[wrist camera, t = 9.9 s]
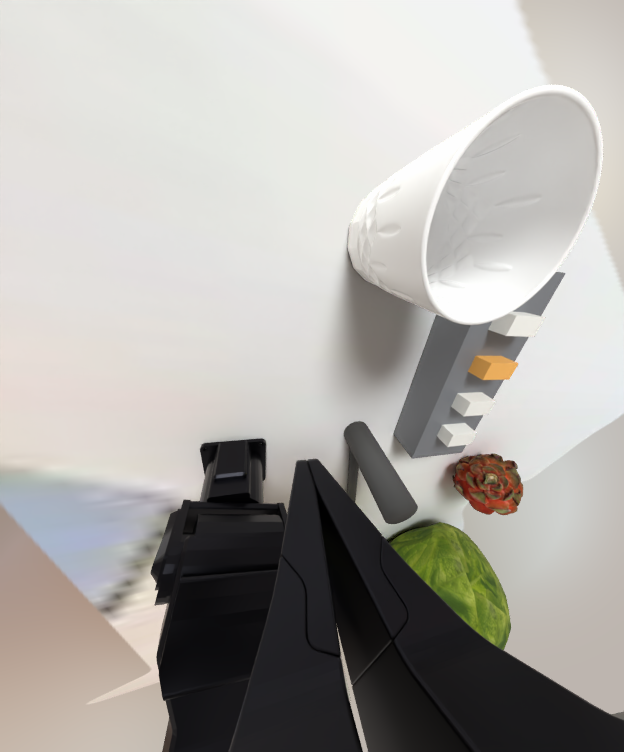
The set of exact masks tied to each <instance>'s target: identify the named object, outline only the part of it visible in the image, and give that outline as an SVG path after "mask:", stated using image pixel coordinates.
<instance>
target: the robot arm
mask: <svg viewBox="0 0 624 752" xmlns="http://www.w3.org/2000/svg"><path fill="white" fill-rule="evenodd" d="M259 443H262V444H259ZM206 448H207V449H206ZM200 452H201V457H202V463H203V468H204V474H205V479H204V484H203V488H202V493H201V498H200V501H191V500H184V501H183V504H182V508H181V509H178V511H176V512H174V513H171V514H170V517H169V521H168V524H167V527H166V530H165V533H164V536H163V539H162V542H161V544H160V547H159V550H158V552H157V555H156V558H155V560H154V563H153V566H152V570H151V575H152V576H153V578H154V580H155V581H156V583H157V584H156V588H155V590H158V594H157V598H156V602H155V605H162V604H167V603H168V604H167V608H166V612H165V616H164V620H163V624H162V629H161V634H160V640H159V645H158V651H157V665H158V669H159V679H160V685H161V691H162V697H163V700H164V701H165V700H166V704H167V709H168V713H169V722H168V726H167V731H166V736H165V741H164V746H163V751H162V752H363V751H362V747H361V743H360V740H359V736H358V732H357V728H356V725H355V721H354V717H353V713H352V709H351V706H350V702H349V698H348V693H347V688H346V683H345V677H344V672H343V666H342V660H341V658H340V657H341V652H340V645H339V639H338V632H339V636H340V640H341V644H342V648H343V652H344V655H345V660H346V664H347V668H348V672H349V676H350V680H351V684H352V685H353V686H352V688H353V692H354V696H355V700H356V704H357V708H358V712H359V716H360V720H361V724H362V728H363V732H364V736H365V740H366V744H367V748H368V752H624V712H621V713H616V714H609V713H607V712H605V711H603V710H601V709H599V708H598V707H596V706H594V705H592V704H590V703H589V702H587V701H586V700H584V699H582V698H581V697H579V696H577V695H576V694H574V693H573V692H571V691H569V690H568V689H566V688H564V687H563V686H561V685H559V684H558V683H556V682H554V681H553V680H551V679H550V678H548V677H546V676H544V675H543V674H541V673H540V672H538V671H536V670H535V669H533V668H531V667H530V666H528V665H526V664H525V663H523V662H522V661H520V660H518V659H517V658H515V657H513V656H512V655H510V654H508V653H507V652H505V651H503V650H502V649H500V648H499V647H497V646H495V645H494V644H492V643H491V642H489V641H488V640H487V639H485V638H484V637H483V636H481V635H480V634H479V633H478V632H476V631H475V630H474V629H473V628H472V627H470V626H469V625H468V624H467V623H466V622H465V621H464V620H463V619H462V618H461V617H460V616H459V615H458V614H457V613H456V612H455V611H454V610H453V609H452V608H451V607H450V606H449V605H448V604H447V603H446V602H445V601H444V600H443V599H442V598H441V597H440V596H439V595H438V594H437V593H436V592H435V591H434V590H433V589H432V588H431V587H430V586H429V585H428V584H427V583H426V582H425V581H424V580H423V579H422V578H421V577H420V576H419V575H418V574H417V573H416V572H415V571H414V570H413V569H412V568H411V567H410V566H409V565H408V564H407V563H406V562H405V561H404V560H403V558H402V557H401V556H400V555H399V554H398V553H397V552H396V551H395V549H394V548H393V547H392V546H391V545H390V544H389V542H388V541H387V540H386V539H385V538H384V537H383V536H382V535H381V533H380V532H379V531H378V530H377V528H376V527H375V526H374V525H373V524H372V523H371V521H370V520H369V519H368V518H367V517H366V515H365V514H364V513H363V512H362V511H361V510H360V508H359V507H358V506H357V505H356V504H355V503H354V501H353V500H352V499H351V498H350V497H349V495H348V494H347V493H346V492H345V491H344V490H343V488H342V487H341V486H340V485H339V484H338V482H337V481H336V480H335V479H334V478H333V477H332V475H331V474H330V473H329V472H328V471H327V470H326V468H325V467H324V466H323V465H322V464H321V462H320V461H319V460H318V459H309V460H298V461H297V462H296V467H295V473H294V479H293V485H292V490H291V496H290V502H289V508H288V514H287V513H286V510H285V506H284V503H277V504H265V503H263V480H265V457H266V443H265V440H264V439H250V440H238V441H226V442H214V443H204V444H202V445H201V448H200ZM336 624H337V625H336ZM337 628H338V632H337Z"/></svg>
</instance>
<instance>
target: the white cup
mask: <svg viewBox="0 0 624 752" xmlns="http://www.w3.org/2000/svg"><path fill="white" fill-rule="evenodd" d="M602 162H603V140H602V132H601V127H600V123H599V120H598V117H597V115H596V113H595V111H594V109H593V107H592V105H591V104H590V103H589V101H588V100H587V99H586V98H585V97H584V96H583V95H581V94H580V93H579V92H577V91H576V90H574V89H572V88H569V87H566V86H562V85H544V86H539V87H535V88H532V89H529V90H526V91H524V92H522V93H520V94H518V95H516V96H514V97H512V98H511V99H509V100H507V101H506V102H504V103H503V104H501V105H500V106H498V107H496V108H495V109H493V110H492V111H490V112H489V113H487V114H486V115H484V116H482V117H481V118H479V119H478V120H476V121H475V122H473V123H472V124H470V125H468V126H467V127H465V128H464V129H462V130H461V131H459V132H457V133H456V134H454V135H453V136H451V137H450V138H448V139H446V140H445V141H443V142H442V143H440V144H438V145H437V146H435V147H434V148H432V149H431V150H429V151H427V152H426V153H424V154H423V155H421V156H420V157H418V158H417V159H416V160H414V161H413V162H411V163H410V164H408V165H407V166H406V167H404V168H402V169H401V170H399V171H398V172H396V173H395V174H394V175H392V176H391V177H390V178H388V179H387V180H386V181H385V182H384V183H382V184H380V185H379V186H377V187H376V188H375V189H374V190H373V191H372V192H371V193H370V194H368V195H367V196H366V197H365V198H364V199H363V200H362V201H361V202H360V204H359V206H358V208H357V210H356V212H355V214H354V216H353V218H352V220H351V222H350V225H349V236H348V252H349V255H350V258H351V261H352V265H353V268H354V269H355V270H356V271H357V272H358V273H359V274H360V275H361V276H362V277H363V278H364V280H365V281H367V282H370V283H372V284H375V285H377V286H378V287H380V288H381V289H383V290H384V291H386V292H389V293H391V294H393V295H395V296H396V297H398V298H400V299H403V300H405V301H407V302H409V303H412V304H414V305H416V306H419V307H421V308H423V309H425V310H428V311H430V312H432V313H434V314H436V315H439V316H441V317H443V318H445V319H447V320H449V321H452V322H454V323H458V324H463V325H478V324H484V323H488V322H491V321H494V320H497V319H499V318H501V317H503V316H505V315H507V314H509V313H511V312H513V311H514V310H516V309H517V308H519V307H520V306H522V305H523V304H524V303H526V302H527V301H528V300H529V299H530V298H532V297H533V296H534V295H535V294H536V293H537V292H538V291H539V290H540V289H541V288H542V287H543V286H544V285H545V284H546V283H547V282H548V281H549V280H550V279H551V277H552V276H553V275H554V274H555V273H556V271H557V270H558V269H559V268H560V266H561V265H562V264H563V262H564V261H565V259H566V258H567V256H568V255H569V253H570V252H571V250H572V248H573V247H574V245H575V243H576V242H577V240H578V238H579V236H580V234H581V232H582V230H583V228H584V226H585V224H586V222H587V219H588V217H589V214H590V212H591V209H592V206H593V204H594V201H595V197H596V193H597V190H598V186H599V182H600V177H601V170H602Z"/></svg>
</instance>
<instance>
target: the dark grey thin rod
mask: <svg viewBox="0 0 624 752" xmlns="http://www.w3.org/2000/svg"><path fill="white" fill-rule="evenodd" d="M358 468H359V466H358V464H357V461H356V459H355V457H354V455H353V453H352V451H350V464H349V477H348V491H347V494H348V495H349V497H350V498H351V499H352V500H353V501H354V503H355V497H356V487H357V478H358Z"/></svg>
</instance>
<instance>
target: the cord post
mask: <svg viewBox="0 0 624 752" xmlns="http://www.w3.org/2000/svg"><path fill="white" fill-rule="evenodd" d="M344 436H345V438H346V441H347V443H348V445H349V447H350V449H351V451H352V453H353V455H354V457H355V459H356V461H357V464H358V466H359V468H360V470H361V472H362V474H363V476H364V478H365V480H366V482H367V484H368V487H369V489H370V491H371V493H372V495H373V497H374V499H375V501H376V503H377V505H378V507H379V510H380V512H381V514H382V516H383V518H384V520H385V522H386V523H388V524H397V523H400V522H403V521H405V520H407V519H409V518H410V517H411V516H412V515H414V514H415V512H416V511H417V508H418V506H417V504H416V503H415V501H414V499H413V498H412V496H411V495H410V493H409V491H408V490H407V488H406V487H405V485H404V484H403V482H402V480H401V479H400V477H399V476H398V474H397V472H396V471H395V469H394V468H393V466H392V465H391V463H390V461H389V460H388V458H387V457H386V455H385V454H384V452H383V450H382V449H381V447H380V446H379V444H378V442H377V441H376V439H375V438H374V436H373V435H372V433H371V431H370V430H369V428H368V427H367V425H366V424H365V423H364V422H354V423H352V424H350V425H349V426H347V428H346V429H345V431H344Z"/></svg>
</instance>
